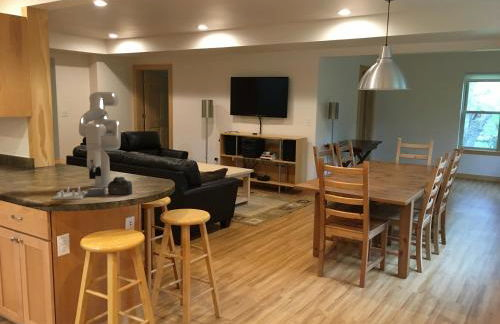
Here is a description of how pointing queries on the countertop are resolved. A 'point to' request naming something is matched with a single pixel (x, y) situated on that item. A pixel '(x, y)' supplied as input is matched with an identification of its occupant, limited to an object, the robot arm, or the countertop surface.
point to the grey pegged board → (70, 194)
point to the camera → (120, 186)
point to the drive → (96, 191)
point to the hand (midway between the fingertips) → (95, 177)
